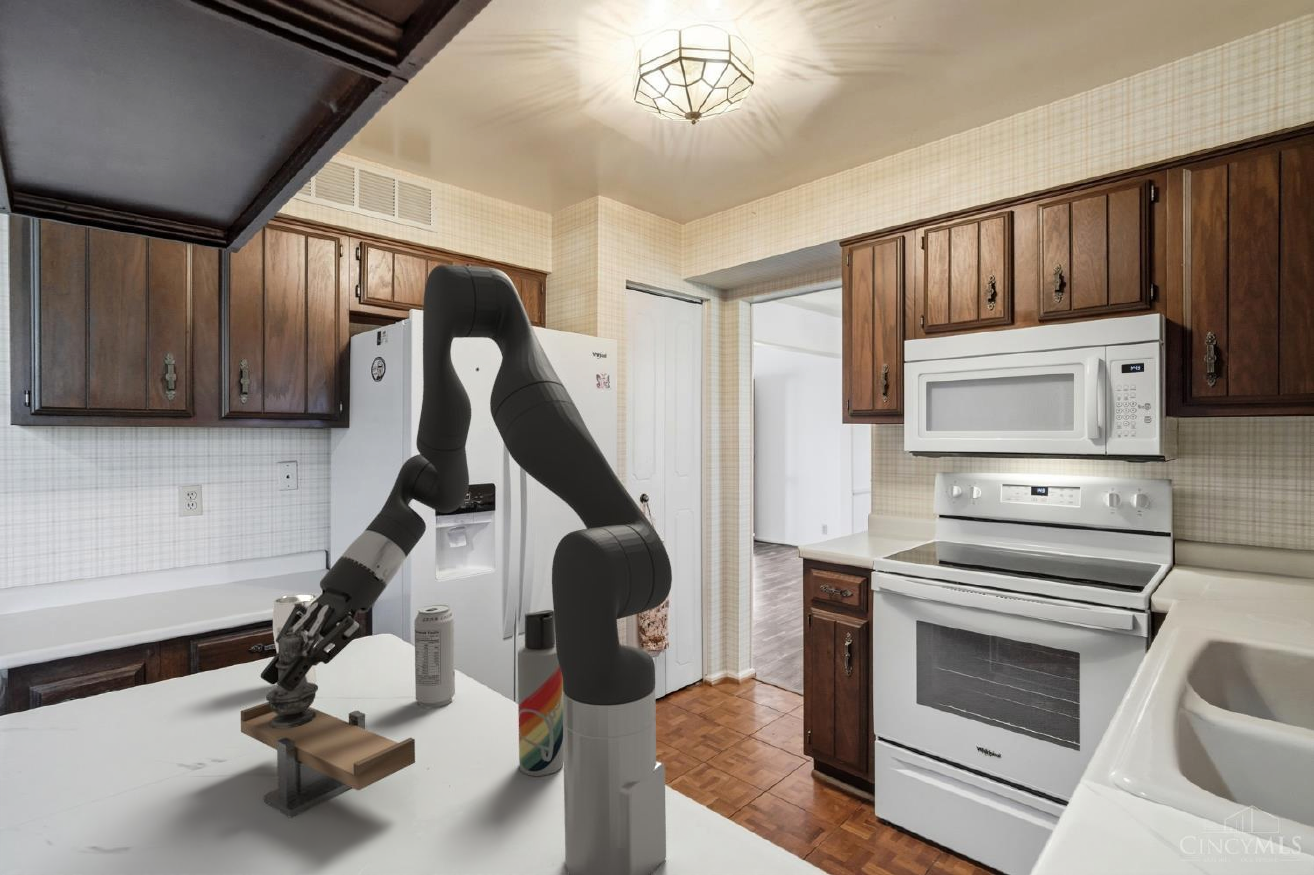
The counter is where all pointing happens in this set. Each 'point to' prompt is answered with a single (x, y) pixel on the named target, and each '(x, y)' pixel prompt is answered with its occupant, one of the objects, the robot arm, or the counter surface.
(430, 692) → the energy drink can
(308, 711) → the dark grey turned piece
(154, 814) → the counter surface
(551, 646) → the lotion bottle
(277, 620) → the beer glass
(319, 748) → the beam
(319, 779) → the pivot stand
